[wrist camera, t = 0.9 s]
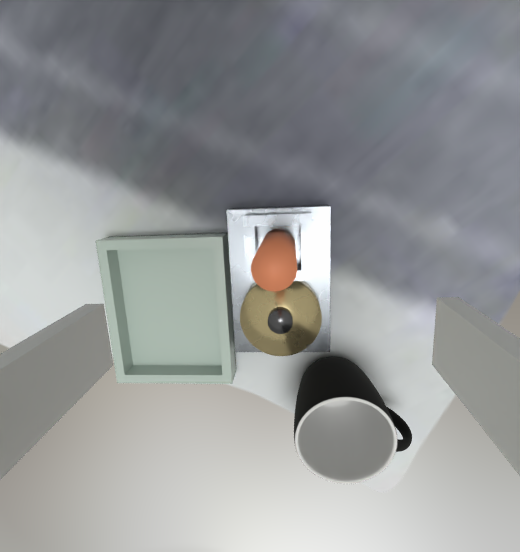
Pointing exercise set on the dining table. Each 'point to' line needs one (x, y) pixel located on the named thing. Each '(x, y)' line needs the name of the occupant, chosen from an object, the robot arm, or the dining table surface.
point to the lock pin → (275, 261)
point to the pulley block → (291, 301)
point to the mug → (344, 424)
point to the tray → (169, 307)
